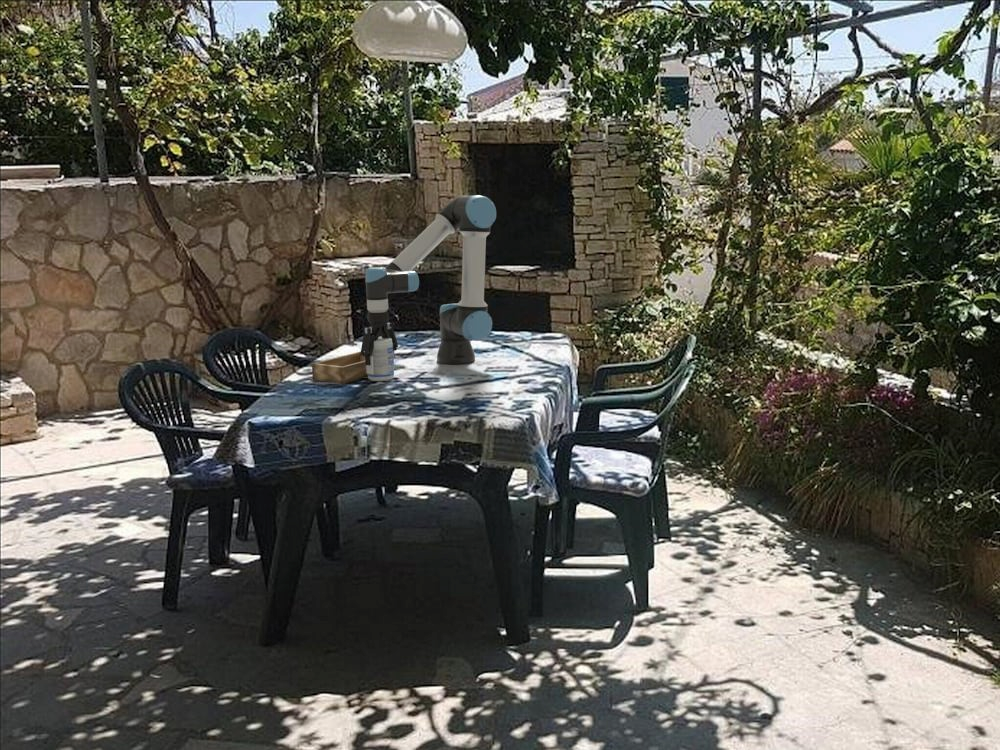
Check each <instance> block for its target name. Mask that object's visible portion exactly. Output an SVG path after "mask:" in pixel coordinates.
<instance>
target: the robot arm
mask: <svg viewBox="0 0 1000 750" xmlns="http://www.w3.org/2000/svg"><path fill="white" fill-rule="evenodd" d="M496 219H497V209H496V206H495V203H494V202H493V201H492V200H491V199H490V198H488V197H487V196H485V195H484V196H483V195H480V194H477V195H476V194H475V195H466V194H465V195H458V196H456V197H454V198H453V199H451V201H449V203H447V204H446V205H445V206H444V207H443V208H441V209H440V210H439V211H438V213H436V215H435V219H434V220H433V221H432V222H431V223H430V224H429V225H428V226H427V227H426V228H425V229H424V230H423V231H422V232H421V233H420V234H419V235H418V236H417V237H416V238H415V239H413V240H412V241H411V242H410V243H409V244H408V245H407V246H406V247H405V248H404V249H403V250H402V251H401V252H400V253H399V254H398V255H397V256H396V257H395V258H394V259H393V260H392V261H390V262H389V264H387V265H386V266H385V267H381V266H380V267H378V266H377V267H375V266H373V267H369V268H366V270H365V292H366V308H367V311H368V312H367V313H366V314H367V315H366V316H367V322H368V323H369V326H368V327H363V329H362V330H363V336H362V342H361V347H360V352H361V353H360V354H361V355H363V356H365V364H366V369H367V374H374V367H373V356H371V354H372V352H373V349H374V341H376V340H377V339H378V338H379V337H382V338H391V339H392V344H393V364H394V365H395V351H397V348H398V347H399V344H398V340H397V338H396V337H397V336H396V333H395V331H394V323H393V322H389V320H390V317H389V316H390V315H389V311H388V310H389V295H388V294H396V293H397V294H398V293H410V292H415V291H418V289H419V287H420V279H419V275H418V273H417V272H416V271H415V270H413V269H414V268H416V267H417V266H418V265H419V264H420V263H421V262H422V261H423V260H424V259H425V258H426V257H427V256H428V255H429V254H430V253H431V252H432V251H433V250H434V249H435V248H436V247H437V246H438V245H440V244H441V242H442V241H443V240H444V239H446V238H447V237H448V236H449V235H453V234H455V233H456V231H458V232H459V233H460V234H461V236H462V239H463V240H462V264H461V265H462V266H461V269H462V272H461V298H460V299H461V300H459V302H458V303H447V304H442V305H440V308H439V313H438V314H439V323H440V325H439V329H440V330H439V331H440V344H439V346H438V347H439V348H438V352H437V355H436V361H437V363H439V364H446V365H463V364H470V363H473V362H475V360H476V355H475V352H474V349H473V346H472V344H471V341H474V342H478V341H483V340H484V339H485V338H486V337H488V335H490V333H491V331H492V328H493V319H492V316H490V314H489V312H488V310H489V309H488V308H489V307H488V306H489V305H488V304H487V302H486V301H485V280H486V279H485V278H486V274H485V273H486V246H487V237H488V236H489V235H490V233H491V227H492V226H493V223H494V222H495V221H496ZM368 352H369V353H368Z"/></svg>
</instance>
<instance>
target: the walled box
mask: <svg viewBox="0 0 1000 750" xmlns="http://www.w3.org/2000/svg"><path fill="white" fill-rule="evenodd" d="M360 353H361V351H356V352H353V353H349V354H345V355H341V356H336V357H333V358H329V359H325V360H321V361H317V362H313V363H311V371H312V373H311V375H312V376H311V377H312V380H313V381H319V382H320V381H321V382H326V383H335V384H341V385H345V384H348V383H352V382H355V381H359V380H362V379H366V378H368V374H367V369H366V364H365V356H363V355H361V354H360Z"/></svg>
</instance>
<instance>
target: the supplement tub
mask: <svg viewBox="0 0 1000 750" xmlns="http://www.w3.org/2000/svg"><path fill="white" fill-rule="evenodd" d="M368 353H369V352H368ZM371 356H373V367H374V374H368V377H367V379H368V380H369V381H372V382H384V381H385V382H386V381H390V380H392V379H394V378H395V371H394V370H395V363H394V364H393V344H392V339H391V338H382V337H381V336H380V337H378V339H377V340H376V341H374V349H373V352H372V354H371Z"/></svg>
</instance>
